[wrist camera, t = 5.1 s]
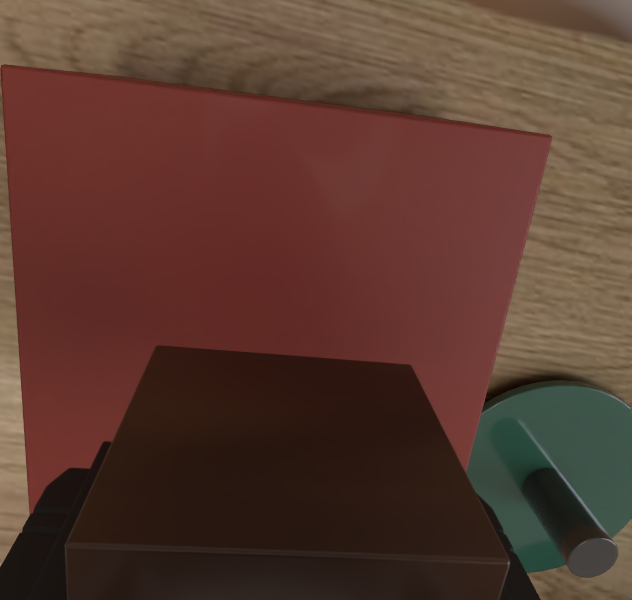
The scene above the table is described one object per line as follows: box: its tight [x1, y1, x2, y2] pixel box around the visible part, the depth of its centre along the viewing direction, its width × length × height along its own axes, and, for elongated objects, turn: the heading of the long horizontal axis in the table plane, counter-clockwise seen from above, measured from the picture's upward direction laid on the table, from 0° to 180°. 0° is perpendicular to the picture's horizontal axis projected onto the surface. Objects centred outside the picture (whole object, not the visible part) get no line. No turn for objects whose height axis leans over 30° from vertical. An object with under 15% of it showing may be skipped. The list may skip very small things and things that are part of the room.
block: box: [65, 345, 510, 600], centre depth 9 cm, size 5×5×5 cm
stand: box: [1, 65, 552, 514], centre depth 21 cm, size 14×14×10 cm
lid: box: [466, 380, 632, 578], centre depth 28 cm, size 12×12×6 cm
